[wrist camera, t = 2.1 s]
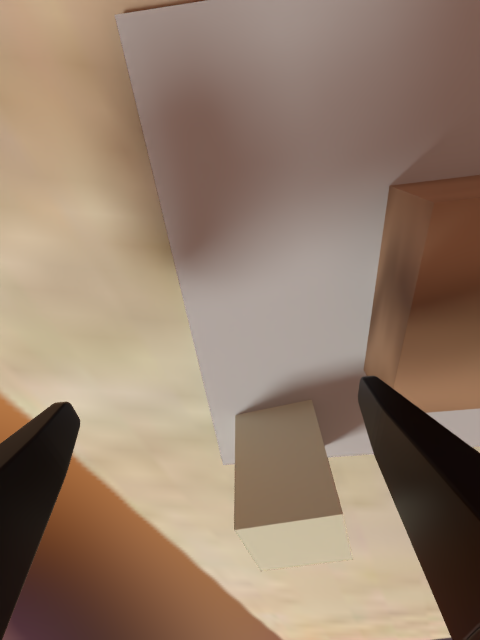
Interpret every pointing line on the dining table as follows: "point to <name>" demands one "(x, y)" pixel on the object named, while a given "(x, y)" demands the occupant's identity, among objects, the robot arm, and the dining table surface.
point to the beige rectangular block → (286, 490)
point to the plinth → (429, 295)
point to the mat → (297, 180)
